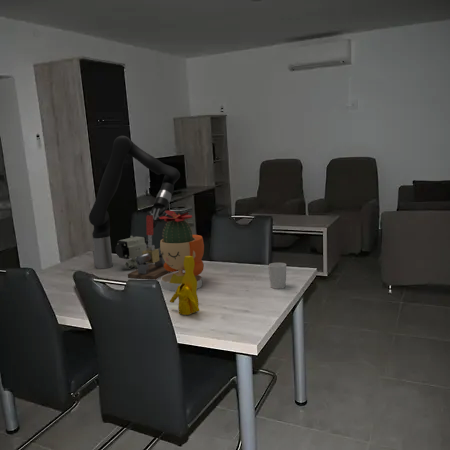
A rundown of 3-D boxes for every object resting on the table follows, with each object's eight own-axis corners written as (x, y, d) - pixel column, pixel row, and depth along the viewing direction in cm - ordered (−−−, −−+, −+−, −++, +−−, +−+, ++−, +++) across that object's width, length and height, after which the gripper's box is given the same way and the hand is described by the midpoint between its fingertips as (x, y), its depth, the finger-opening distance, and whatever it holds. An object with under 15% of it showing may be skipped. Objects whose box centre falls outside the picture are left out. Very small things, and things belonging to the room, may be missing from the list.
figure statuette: (166, 310, 177) (162, 256, 173) (182, 304, 182) (178, 252, 178) (195, 321, 164) (191, 263, 160) (211, 314, 169) (207, 258, 166)
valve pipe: (135, 274, 224) (133, 249, 222) (158, 264, 242) (156, 241, 240) (145, 275, 222) (143, 249, 220) (167, 265, 240) (165, 241, 237)
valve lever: (146, 248, 229) (146, 215, 229) (149, 248, 232) (149, 215, 231) (150, 248, 228) (150, 215, 228) (153, 248, 231) (153, 215, 230)
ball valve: (126, 272, 237) (123, 239, 234) (117, 270, 243) (113, 238, 240) (152, 264, 251) (150, 233, 248) (143, 262, 256) (140, 232, 253)
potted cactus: (183, 293, 196) (177, 215, 190) (152, 285, 211) (145, 212, 205) (217, 281, 212) (212, 208, 206) (185, 274, 227) (180, 206, 221)
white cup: (288, 284, 201) (287, 262, 199) (285, 289, 194) (284, 267, 192) (271, 283, 204) (270, 262, 202) (267, 288, 196) (266, 266, 195)
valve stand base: (128, 277, 227) (127, 273, 227) (150, 267, 245) (150, 263, 244) (154, 280, 220) (154, 276, 220) (175, 269, 238) (175, 265, 237)
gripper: (149, 196, 240) (138, 223, 231) (170, 196, 234) (159, 223, 226) (155, 204, 245) (145, 231, 237) (176, 204, 240) (166, 231, 231)
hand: (152, 227), depth 231 cm, fingers closed
